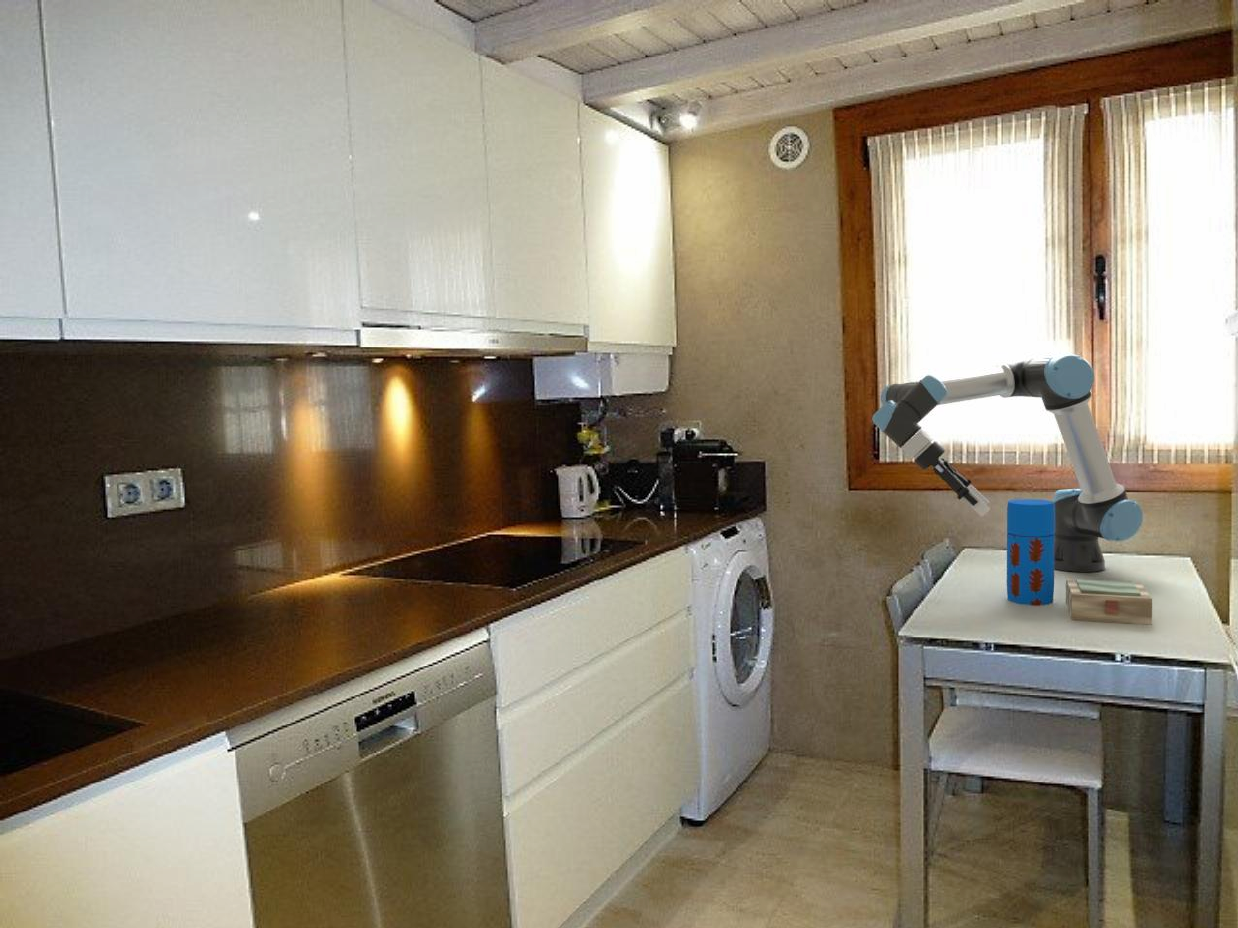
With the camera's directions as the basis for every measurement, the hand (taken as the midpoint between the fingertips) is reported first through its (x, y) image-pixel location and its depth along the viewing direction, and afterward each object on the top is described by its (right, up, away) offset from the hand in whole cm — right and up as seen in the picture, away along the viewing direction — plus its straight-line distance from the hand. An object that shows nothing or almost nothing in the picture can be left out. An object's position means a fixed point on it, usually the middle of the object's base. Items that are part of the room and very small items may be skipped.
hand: (985, 509), depth 225 cm
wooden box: (+22, -24, -16) cm, 36 cm away
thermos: (+10, -23, -2) cm, 25 cm away
